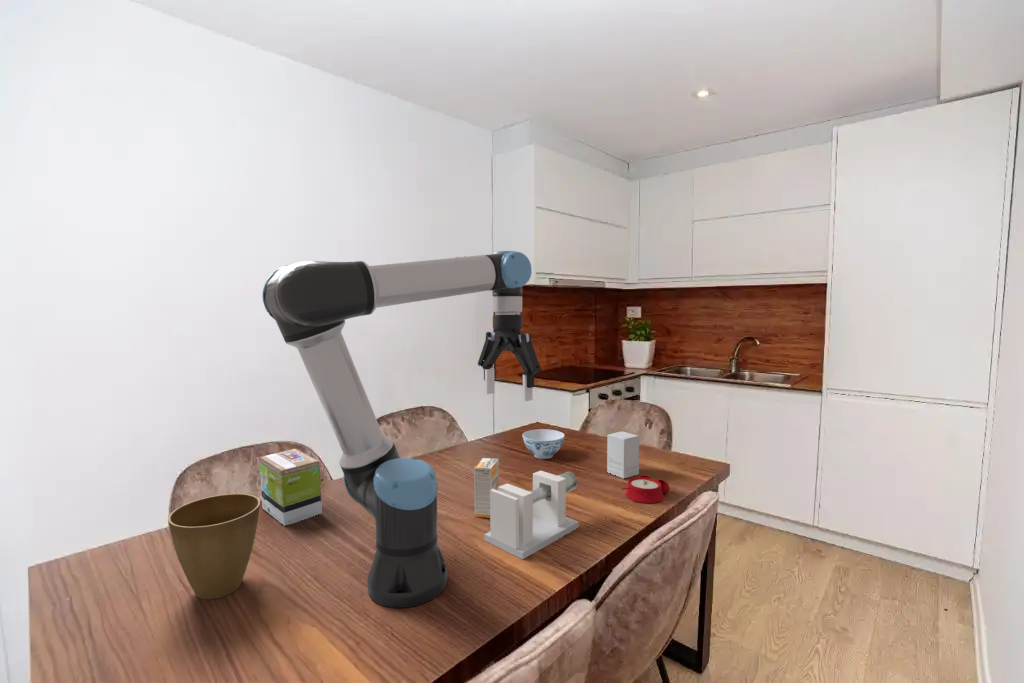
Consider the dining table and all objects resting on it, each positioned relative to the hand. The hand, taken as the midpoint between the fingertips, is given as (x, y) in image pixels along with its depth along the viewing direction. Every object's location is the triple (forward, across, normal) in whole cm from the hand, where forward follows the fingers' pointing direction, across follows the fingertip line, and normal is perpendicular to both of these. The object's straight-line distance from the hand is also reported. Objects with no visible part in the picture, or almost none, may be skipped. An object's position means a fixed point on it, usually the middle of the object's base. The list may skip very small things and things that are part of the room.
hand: (508, 397), depth 122 cm
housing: (+31, -12, +4) cm, 33 cm away
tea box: (+31, +42, +39) cm, 65 cm away
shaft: (+24, -12, +1) cm, 27 cm away
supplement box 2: (+31, -6, -46) cm, 56 cm away
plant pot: (+31, +17, +62) cm, 71 cm away
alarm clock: (+31, -20, -36) cm, 52 cm away
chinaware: (+31, +24, -42) cm, 57 cm away
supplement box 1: (+31, +5, +3) cm, 31 cm away
